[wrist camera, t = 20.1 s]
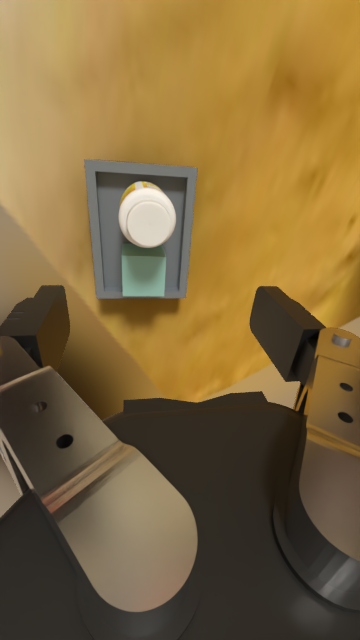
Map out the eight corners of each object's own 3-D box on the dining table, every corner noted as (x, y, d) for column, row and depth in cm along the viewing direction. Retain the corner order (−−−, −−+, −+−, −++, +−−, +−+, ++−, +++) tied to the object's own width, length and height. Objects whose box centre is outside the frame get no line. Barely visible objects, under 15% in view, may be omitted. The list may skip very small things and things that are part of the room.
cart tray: (190, 166, 34) (197, 168, 31) (181, 286, 42) (185, 298, 39) (89, 158, 32) (84, 159, 29) (99, 286, 40) (96, 298, 37)
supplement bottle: (125, 233, 35) (124, 259, 26) (115, 183, 32) (110, 195, 23) (169, 226, 35) (182, 251, 27) (164, 177, 32) (176, 187, 24)
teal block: (162, 244, 36) (166, 256, 32) (160, 280, 39) (164, 296, 35) (122, 243, 35) (121, 255, 31) (123, 280, 38) (122, 296, 34)
